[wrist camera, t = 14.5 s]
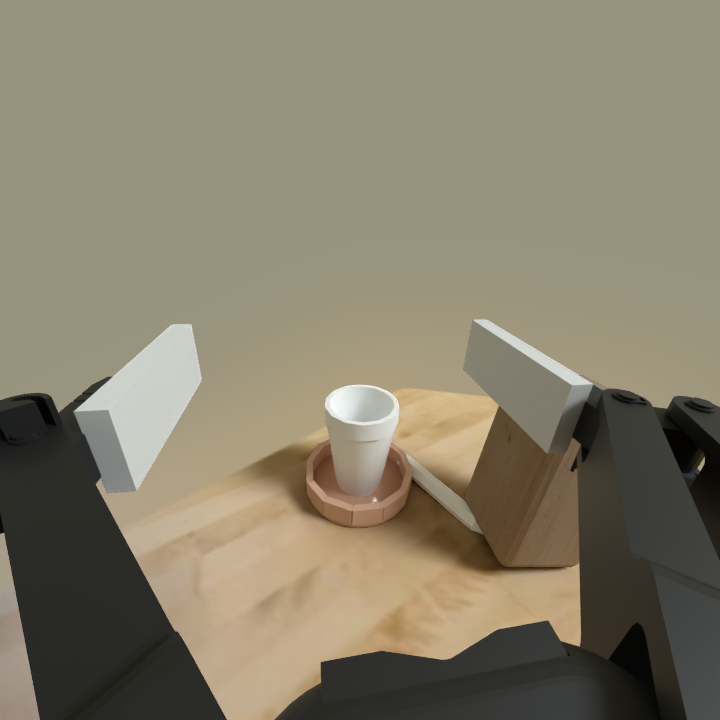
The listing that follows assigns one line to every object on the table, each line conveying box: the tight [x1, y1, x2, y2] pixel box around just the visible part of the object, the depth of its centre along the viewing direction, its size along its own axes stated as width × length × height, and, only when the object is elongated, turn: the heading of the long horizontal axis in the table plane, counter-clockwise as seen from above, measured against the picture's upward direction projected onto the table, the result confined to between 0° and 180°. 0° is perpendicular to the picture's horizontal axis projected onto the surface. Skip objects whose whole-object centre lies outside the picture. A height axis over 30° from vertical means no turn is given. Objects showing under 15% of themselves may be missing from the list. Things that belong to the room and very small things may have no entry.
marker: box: [397, 454, 483, 534], centre depth 44 cm, size 3×2×16 cm
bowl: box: [306, 439, 413, 528], centre depth 46 cm, size 15×15×3 cm
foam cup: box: [325, 385, 399, 497], centre depth 44 cm, size 10×9×13 cm
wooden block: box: [465, 375, 609, 567], centre depth 36 cm, size 10×10×20 cm
